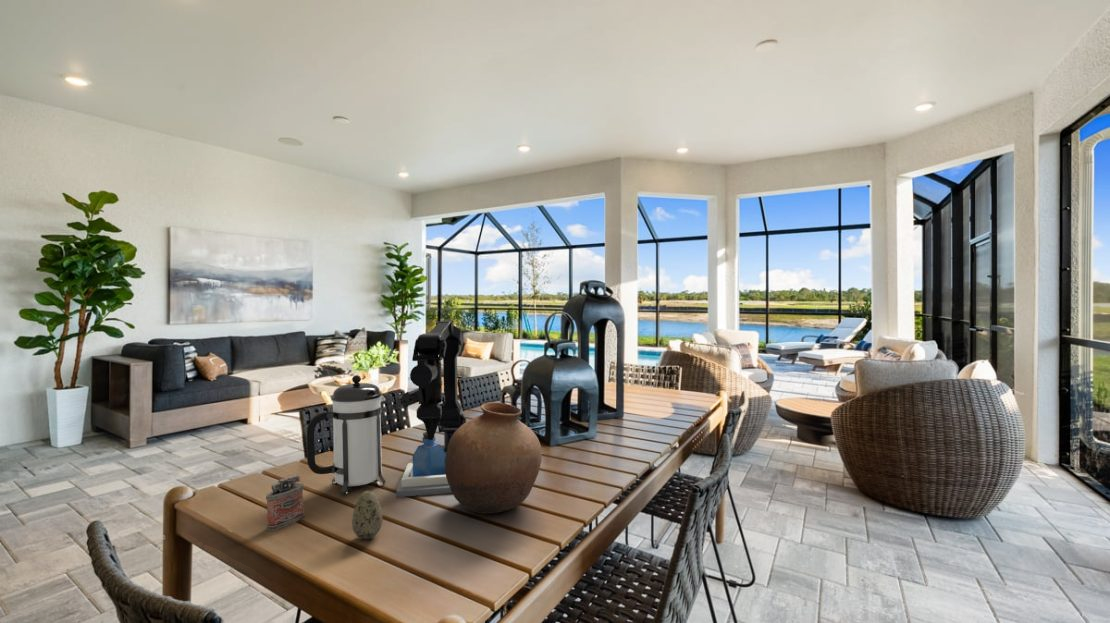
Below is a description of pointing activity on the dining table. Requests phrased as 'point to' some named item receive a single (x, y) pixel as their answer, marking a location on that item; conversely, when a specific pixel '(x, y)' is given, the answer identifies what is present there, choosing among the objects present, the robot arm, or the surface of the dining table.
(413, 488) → the socket board
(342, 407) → the coffee press
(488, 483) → the pottery
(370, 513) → the decorative egg
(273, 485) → the lighter
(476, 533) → the dining table surface
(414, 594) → the dining table surface
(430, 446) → the perfume bottle
